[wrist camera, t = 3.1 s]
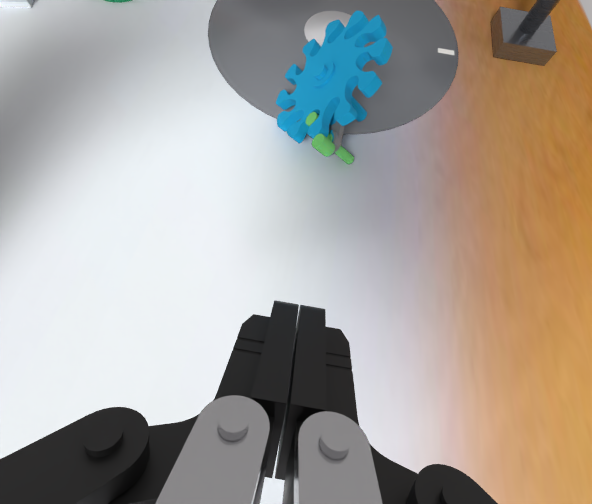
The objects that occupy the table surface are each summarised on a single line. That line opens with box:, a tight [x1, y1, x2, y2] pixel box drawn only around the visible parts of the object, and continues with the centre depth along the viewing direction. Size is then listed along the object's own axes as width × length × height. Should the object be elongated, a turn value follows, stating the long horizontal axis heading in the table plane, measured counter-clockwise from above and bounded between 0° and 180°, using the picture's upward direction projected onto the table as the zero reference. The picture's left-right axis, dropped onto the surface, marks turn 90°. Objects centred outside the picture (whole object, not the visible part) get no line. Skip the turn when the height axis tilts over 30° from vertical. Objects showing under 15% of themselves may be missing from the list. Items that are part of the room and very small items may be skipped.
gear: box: [276, 10, 393, 164], centre depth 26 cm, size 11×6×10 cm
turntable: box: [208, 0, 458, 134], centre depth 32 cm, size 24×24×1 cm
